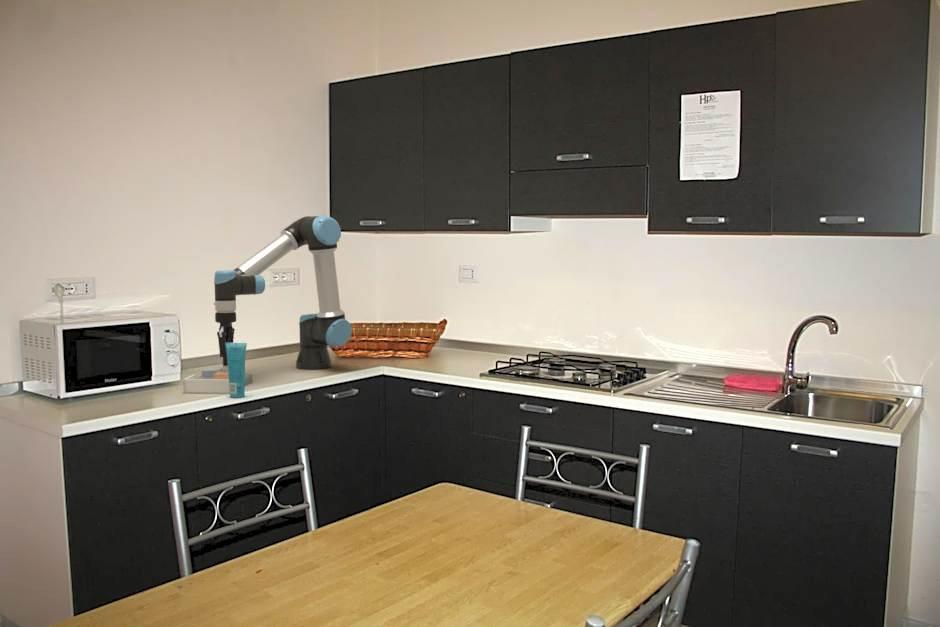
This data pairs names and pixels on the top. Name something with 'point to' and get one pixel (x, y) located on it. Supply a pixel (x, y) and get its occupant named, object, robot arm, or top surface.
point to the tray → (205, 385)
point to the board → (247, 378)
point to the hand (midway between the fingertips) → (226, 373)
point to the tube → (236, 368)
